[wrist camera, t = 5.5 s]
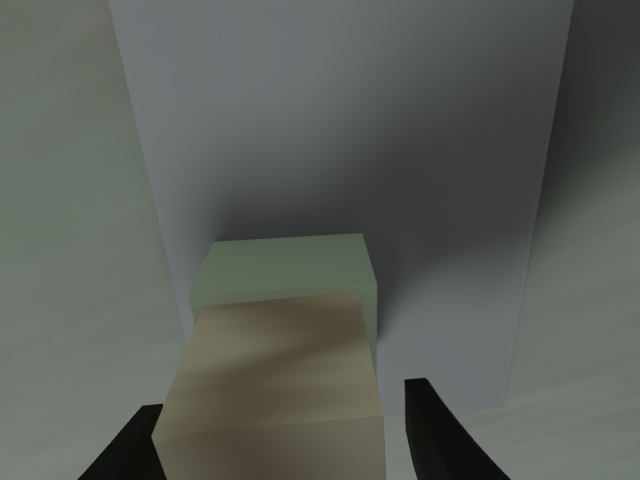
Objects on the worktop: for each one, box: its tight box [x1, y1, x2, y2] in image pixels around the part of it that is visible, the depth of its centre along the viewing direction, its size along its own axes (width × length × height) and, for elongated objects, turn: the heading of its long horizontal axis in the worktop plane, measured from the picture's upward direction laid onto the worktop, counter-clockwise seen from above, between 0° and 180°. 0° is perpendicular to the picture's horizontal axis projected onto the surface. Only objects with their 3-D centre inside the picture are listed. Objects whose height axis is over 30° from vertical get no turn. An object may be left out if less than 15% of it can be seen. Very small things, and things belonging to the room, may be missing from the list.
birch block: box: [151, 291, 386, 480], centre depth 12 cm, size 5×5×5 cm
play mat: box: [108, 0, 574, 414], centre depth 17 cm, size 15×24×1 cm, turn 3°
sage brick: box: [188, 233, 377, 382], centre depth 17 cm, size 6×6×4 cm
